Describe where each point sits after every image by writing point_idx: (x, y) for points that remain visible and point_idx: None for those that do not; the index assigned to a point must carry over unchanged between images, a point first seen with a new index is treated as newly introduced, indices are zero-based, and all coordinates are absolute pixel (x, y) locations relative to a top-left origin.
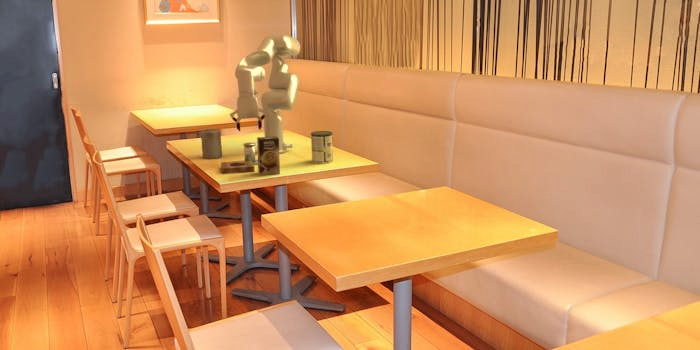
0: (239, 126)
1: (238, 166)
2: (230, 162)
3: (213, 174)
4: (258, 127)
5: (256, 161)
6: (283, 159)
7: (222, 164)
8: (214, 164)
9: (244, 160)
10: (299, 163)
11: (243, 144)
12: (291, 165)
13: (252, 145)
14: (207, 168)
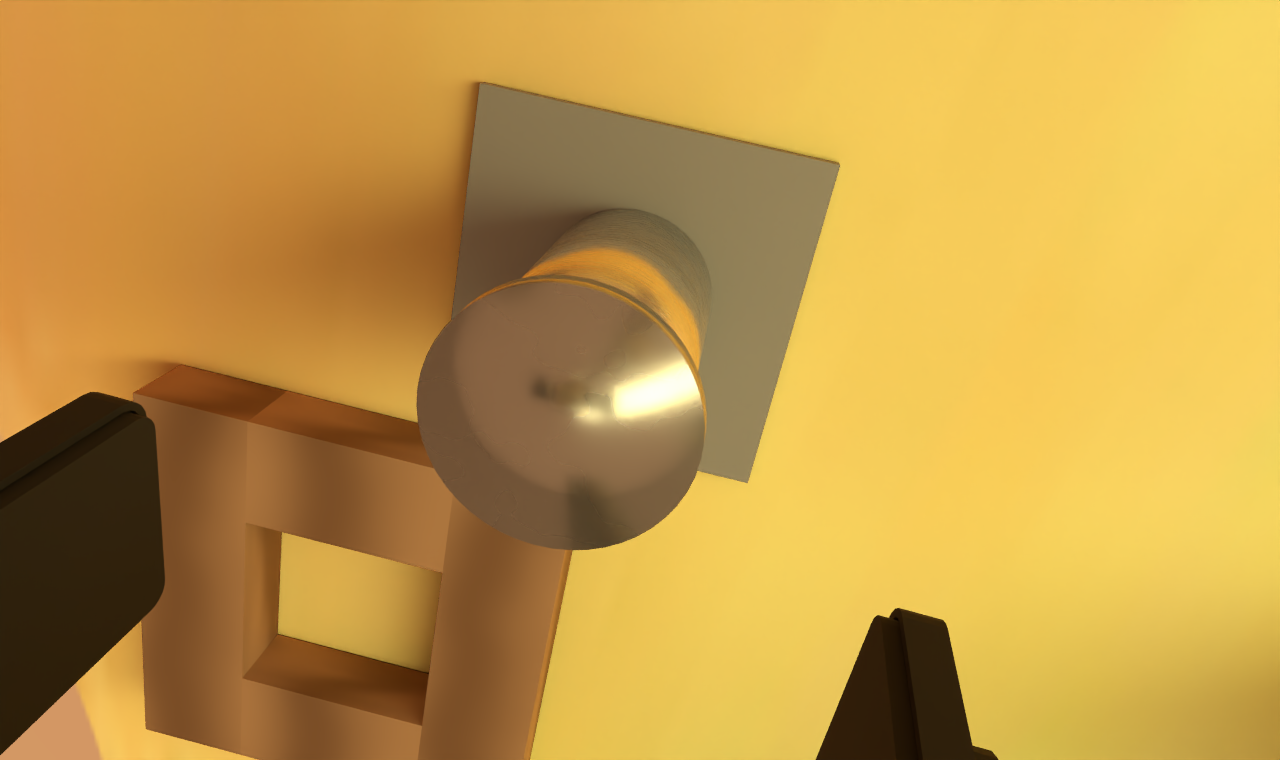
0: (10, 722)
1: (332, 734)
2: (263, 471)
3: None
4: (880, 636)
5: (731, 305)
6: (1242, 315)
7: None
8: (91, 102)
9: (576, 111)
10: (1253, 696)
11: (420, 412)
12: (1077, 736)
13: (598, 534)
14: (4, 326)
